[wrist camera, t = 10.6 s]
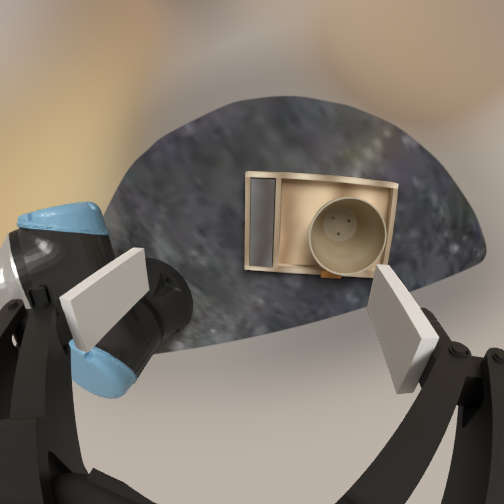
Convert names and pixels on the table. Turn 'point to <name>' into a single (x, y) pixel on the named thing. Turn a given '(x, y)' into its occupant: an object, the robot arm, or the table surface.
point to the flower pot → (347, 236)
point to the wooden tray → (303, 217)
